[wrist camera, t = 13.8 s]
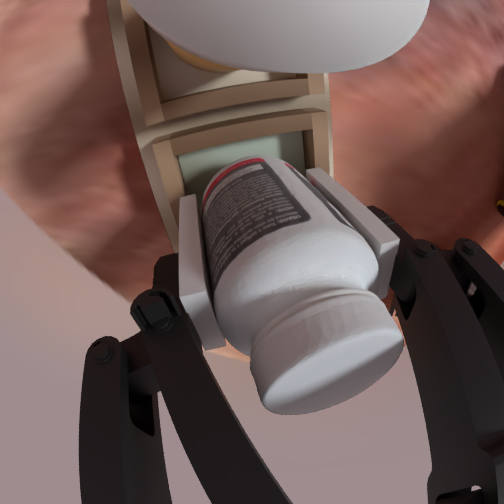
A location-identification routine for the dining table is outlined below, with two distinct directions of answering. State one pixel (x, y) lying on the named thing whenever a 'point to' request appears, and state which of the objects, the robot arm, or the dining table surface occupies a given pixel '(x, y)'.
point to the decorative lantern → (500, 207)
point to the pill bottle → (294, 287)
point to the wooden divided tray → (212, 115)
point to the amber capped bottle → (283, 32)
